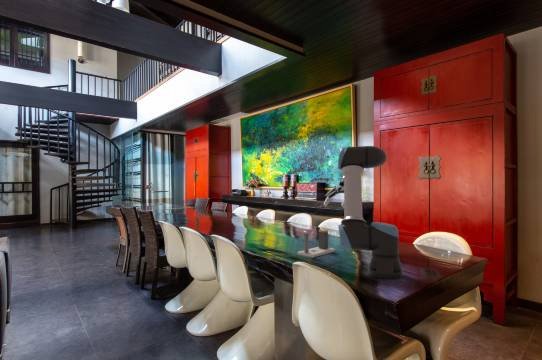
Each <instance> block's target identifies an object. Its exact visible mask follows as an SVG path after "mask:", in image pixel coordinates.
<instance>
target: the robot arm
mask: <svg viewBox="0 0 542 360" xmlns="http://www.w3.org/2000/svg"><path fill="white" fill-rule="evenodd" d="M387 159H388V156H387V153H386V151H385V150H384V149H382V148H381V147H378V146H373V145H364V146H362V145H360V146H359V145H358V146H345V147H344V146H343V147H341V148H340V149H339V153H338V159H337V160H338V162H337V168H338V170H340V172H341V174H342V178H341V180H340V181H339V182H338V186H336V185H334V186H333V187H332V188H331V189H330V190H329V191H328V192H327V193H326V194H324V197H325V198H324V199H325V200H324V202H323V205H324V207H327V206H328V205H329V202H331V199H332V198H334V197H335V196H336V195H339V194H343V200H342V201H341V202H342V203H341V207H342V208H343V210H344V211H343V212H344V215H343V216H344V218H343V219H342V220H341V222H340V224H337V225H338V227H337V229H338V233H339V234H338V235H339V241H340V247H341V249H343V250H348V251H365V252H366V251H371V257H370V262H369V264H368V267H367V268H368V269H367V272H368V274H369V275H370V276H372V277H374V278H379V279H385V280H395V279H401V278H403V277H404V269H403V266H402V263H401V260H400V255H399V254H400V253H399V252H400V251H399V237H400V236H399V229H398V227H397V226H396V225H394V224H391V223H390V224H389V223H386V222H377V221H376V222H375V221H372V222H371V223H370V225H368V224H367V221H366V220H365V219H364V217H363V197H362V196H363V192H362V190H363V189H362V174H363V173H364V172H365V169H374V168H379V167H382V166H383V165H385V164H386V162H387Z"/></svg>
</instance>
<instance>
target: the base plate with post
mask: <svg viewBox="0 0 542 360" xmlns="http://www.w3.org/2000/svg"><path fill="white" fill-rule="evenodd" d="M303 240H304V241H303V242H304V243H303V244H304V245H303V249H304V250H299V251H297V255H298V256H303V257H308V258H311V259H314V258H315V257H319V256H323V255H328V254H330V253H334V252H336V248H332V247H328V248H327V249H320V248H319V246H316V247H312V248H309V234H303Z"/></svg>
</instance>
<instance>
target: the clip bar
mask: <svg viewBox="0 0 542 360" xmlns="http://www.w3.org/2000/svg"><path fill="white" fill-rule="evenodd" d="M292 231H296V232H299V233H302V234H303V235H304V234H308V235H309V234H310V231H309V230H304V229H301V228H298V227H292Z"/></svg>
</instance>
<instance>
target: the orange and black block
mask: <svg viewBox="0 0 542 360" xmlns="http://www.w3.org/2000/svg"><path fill="white" fill-rule="evenodd" d="M318 247H319V248H320V249H327V248H329V230H328V229H323V228H322V229H318Z"/></svg>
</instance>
